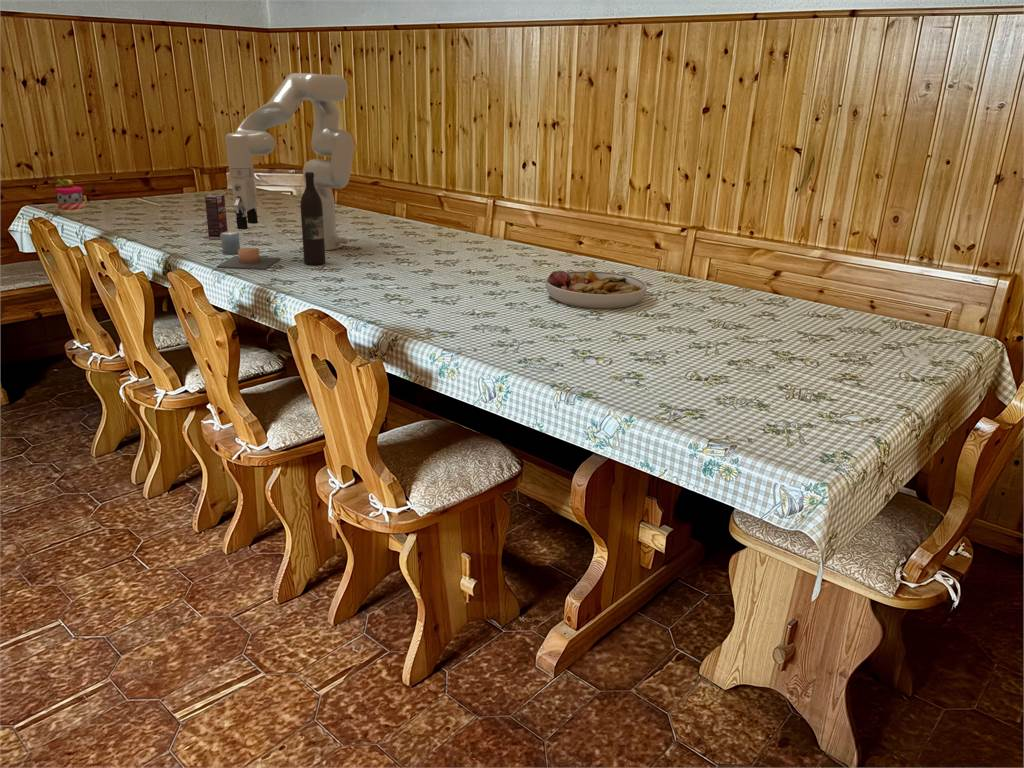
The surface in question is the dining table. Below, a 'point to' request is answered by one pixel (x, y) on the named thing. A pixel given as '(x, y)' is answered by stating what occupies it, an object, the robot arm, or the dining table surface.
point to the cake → (69, 198)
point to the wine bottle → (312, 224)
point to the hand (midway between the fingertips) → (247, 226)
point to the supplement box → (216, 215)
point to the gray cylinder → (230, 242)
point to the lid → (248, 255)
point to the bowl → (595, 289)
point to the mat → (263, 264)
